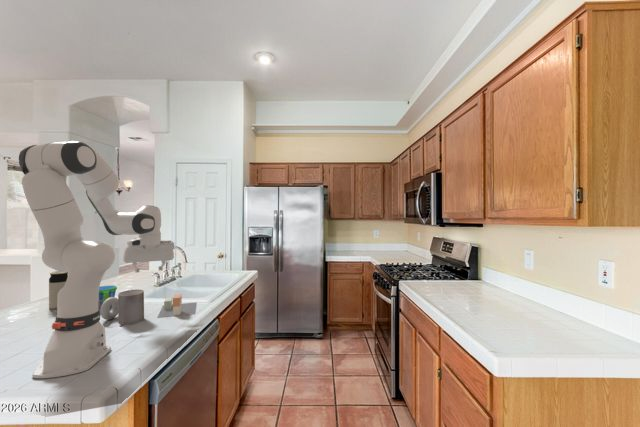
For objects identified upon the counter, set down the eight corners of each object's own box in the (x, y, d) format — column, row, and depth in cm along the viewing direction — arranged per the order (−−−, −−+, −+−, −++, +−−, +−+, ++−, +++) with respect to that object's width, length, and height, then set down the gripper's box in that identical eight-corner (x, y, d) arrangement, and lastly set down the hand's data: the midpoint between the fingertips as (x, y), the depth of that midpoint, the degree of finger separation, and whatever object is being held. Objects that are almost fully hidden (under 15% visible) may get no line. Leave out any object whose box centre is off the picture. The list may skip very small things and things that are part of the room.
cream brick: (180, 314, 142) (180, 306, 142) (173, 315, 141) (173, 306, 141) (181, 311, 148) (181, 302, 148) (174, 311, 147) (174, 303, 147)
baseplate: (195, 316, 144) (195, 314, 144) (156, 320, 138) (156, 317, 138) (196, 304, 162) (196, 302, 162) (162, 307, 157) (162, 305, 157)
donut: (105, 323, 134) (105, 300, 134) (98, 323, 135) (98, 300, 135) (122, 315, 144) (122, 294, 144) (115, 315, 145) (115, 294, 145)
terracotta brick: (179, 306, 142) (179, 297, 142) (172, 306, 141) (172, 298, 141) (181, 302, 148) (181, 294, 148) (174, 303, 147) (174, 294, 147)
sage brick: (170, 309, 151) (171, 300, 151) (164, 309, 150) (164, 301, 150) (172, 305, 156) (172, 297, 156) (165, 306, 155) (165, 298, 155)
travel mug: (64, 308, 155) (64, 272, 155) (45, 309, 153) (45, 273, 153) (72, 304, 162) (72, 270, 162) (54, 305, 160) (54, 270, 160)
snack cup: (92, 305, 160) (92, 286, 160) (116, 302, 166) (116, 283, 166) (90, 313, 147) (90, 292, 147) (117, 309, 153) (117, 289, 153)
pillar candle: (128, 319, 140) (128, 286, 140) (149, 319, 139) (148, 286, 139) (112, 327, 130) (112, 292, 130) (134, 327, 130) (134, 292, 129)
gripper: (172, 239, 150) (172, 268, 150) (123, 241, 137) (122, 272, 137) (176, 240, 145) (175, 270, 145) (124, 242, 132) (124, 274, 132)
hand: (149, 271), depth 141 cm, fingers open, 8 cm apart
